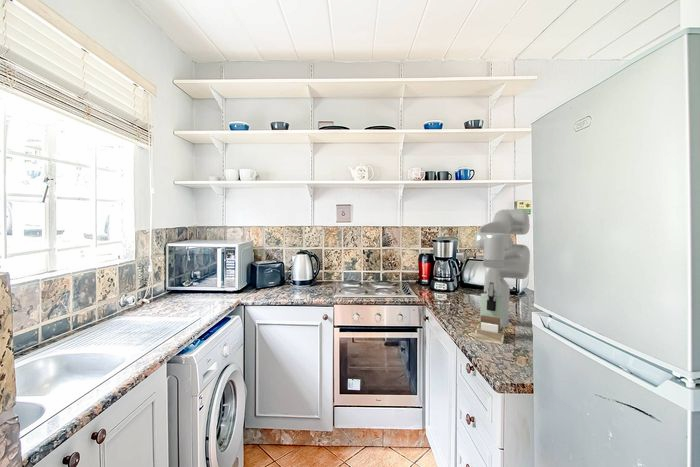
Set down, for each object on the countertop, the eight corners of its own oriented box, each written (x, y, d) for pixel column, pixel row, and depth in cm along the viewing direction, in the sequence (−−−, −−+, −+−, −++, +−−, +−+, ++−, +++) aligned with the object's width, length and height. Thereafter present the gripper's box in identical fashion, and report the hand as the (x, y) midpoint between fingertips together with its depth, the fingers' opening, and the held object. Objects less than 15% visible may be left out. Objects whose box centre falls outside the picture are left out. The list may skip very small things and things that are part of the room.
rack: (477, 333, 129) (478, 322, 129) (504, 338, 124) (504, 326, 124) (474, 341, 120) (474, 329, 120) (502, 347, 115) (503, 334, 115)
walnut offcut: (480, 334, 124) (481, 315, 124) (499, 338, 121) (500, 318, 121) (479, 335, 123) (480, 316, 123) (499, 339, 119) (500, 319, 119)
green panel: (480, 331, 127) (481, 293, 127) (501, 335, 124) (503, 296, 123) (479, 333, 126) (481, 294, 125) (501, 337, 122) (502, 297, 121)
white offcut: (480, 337, 121) (481, 322, 121) (497, 340, 118) (498, 324, 118) (480, 338, 120) (481, 323, 120) (497, 341, 117) (498, 326, 117)
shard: (471, 320, 148) (471, 316, 148) (487, 324, 143) (487, 320, 143) (462, 325, 140) (462, 321, 140) (479, 329, 135) (479, 325, 135)
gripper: (485, 261, 133) (483, 303, 133) (481, 265, 118) (479, 312, 119) (504, 263, 129) (502, 306, 130) (502, 267, 115) (500, 316, 115)
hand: (491, 308), depth 124 cm, fingers open, 3 cm apart
